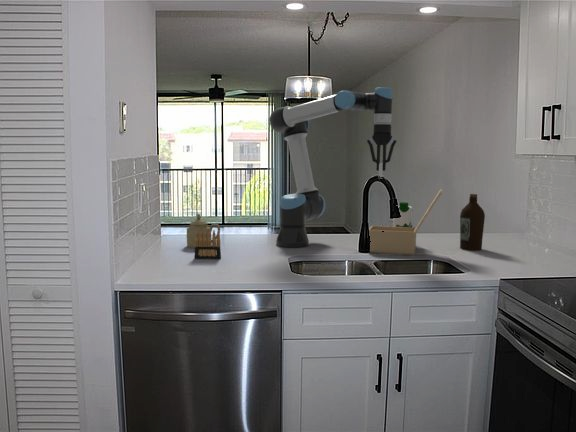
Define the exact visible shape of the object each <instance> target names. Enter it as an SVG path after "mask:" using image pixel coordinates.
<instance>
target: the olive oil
mask: <svg viewBox="0 0 576 432" xmlns="http://www.w3.org/2000/svg"><path fill="white" fill-rule="evenodd" d="M468 200H469V201H468V203H467V204H466V205H465V206H464V207H463V208H462V209H461V212H460V216H459V233H460V234H459V236H460V237H459V243H460V244H459V248H460V249H461V250H463V251H472V252H473V251H481V250H482V249H483V236H484V226H485V219H486V214H485V211H484V209H483V208H482V207H481V206H480V205H479V203H478V194H477V193H470V194H469V199H468Z"/></svg>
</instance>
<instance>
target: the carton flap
mask: <svg viewBox="0 0 576 432" xmlns="http://www.w3.org/2000/svg"><path fill="white" fill-rule="evenodd" d="M442 194H443V189H442V188H440V190H439V191H438V192H437V194H436V196H435V197H434V199H433V201H432V202H431V204H430V205H429V206H428V208H427V209H426V212H425V213H424V215H423V216H422V218H421V219H420V220H419V222H418V224H417V225H416V227H415V228H416V230H415V231H416V233H417V232H418V231H419V229H420V228H421V226H422V225H423V223H424V221H425V220H426V218H427V216H428V215H429V213H430V212H431V211H432V209H433V208H434V206H435V204H436V203H437V201H438V199H440V196H441V195H442Z"/></svg>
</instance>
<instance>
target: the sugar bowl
mask: <svg viewBox="0 0 576 432" xmlns="http://www.w3.org/2000/svg"><path fill="white" fill-rule="evenodd" d="M188 224H189V226H188V227H186V247H187V248H189V249H195V233H196V230H197V231H198V239H199V237H200V230H202V236H203V240H204V231H205V230H206V233H207V246H208V232H209V230H210V232H211V233H213V227H216V228H217V231H218V230H219V233H220V234H221V226H220V225H219V224H218V223H212V224H211V225H210V226H209V225H208V224H209V223H208V222H207V221H205V220H204V219H201V214H200V213H197V214H196V219H194V220H192V221H191V222H189V223H188ZM215 237H216V240H217V234H215Z"/></svg>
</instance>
